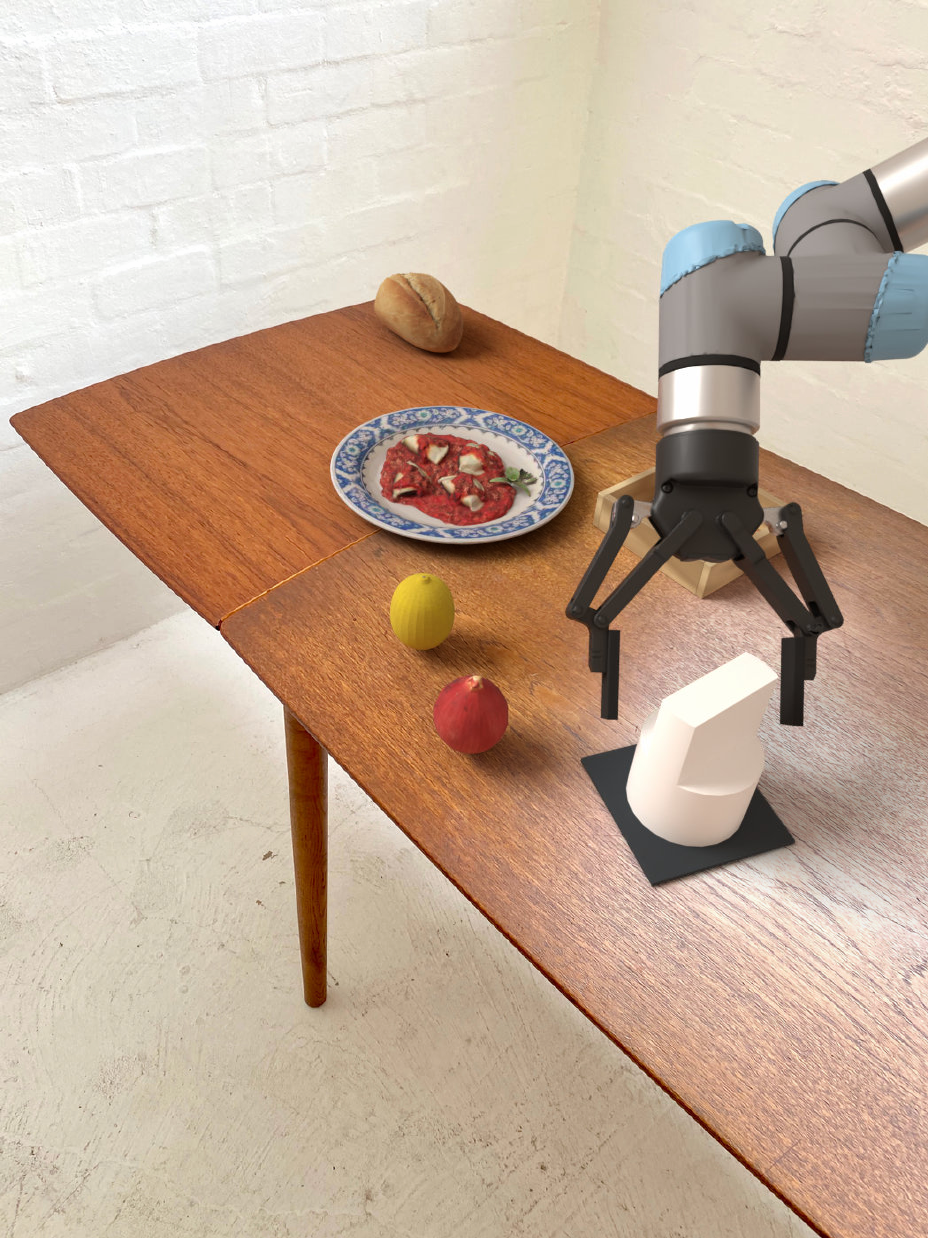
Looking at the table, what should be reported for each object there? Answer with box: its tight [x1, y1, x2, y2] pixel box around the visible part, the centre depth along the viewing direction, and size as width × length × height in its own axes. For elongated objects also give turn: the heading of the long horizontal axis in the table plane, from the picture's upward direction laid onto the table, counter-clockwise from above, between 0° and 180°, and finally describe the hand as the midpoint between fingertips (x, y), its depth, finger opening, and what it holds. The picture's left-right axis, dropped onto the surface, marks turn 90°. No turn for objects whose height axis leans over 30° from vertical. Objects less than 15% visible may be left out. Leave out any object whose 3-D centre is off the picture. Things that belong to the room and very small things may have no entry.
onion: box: [432, 674, 509, 755], centre depth 75 cm, size 6×6×8 cm
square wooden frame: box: [592, 465, 804, 600], centre depth 100 cm, size 15×15×4 cm
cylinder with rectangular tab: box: [626, 651, 780, 847], centre depth 71 cm, size 9×9×12 cm
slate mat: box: [580, 743, 796, 887], centre depth 75 cm, size 12×12×1 cm
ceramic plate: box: [329, 405, 575, 545], centre depth 104 cm, size 26×26×3 cm
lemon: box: [389, 572, 456, 651], centre depth 83 cm, size 6×6×8 cm
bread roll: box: [373, 271, 464, 353], centre depth 128 cm, size 10×15×8 cm, turn 37°
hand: (700, 722), depth 72 cm, fingers open, 13 cm apart
